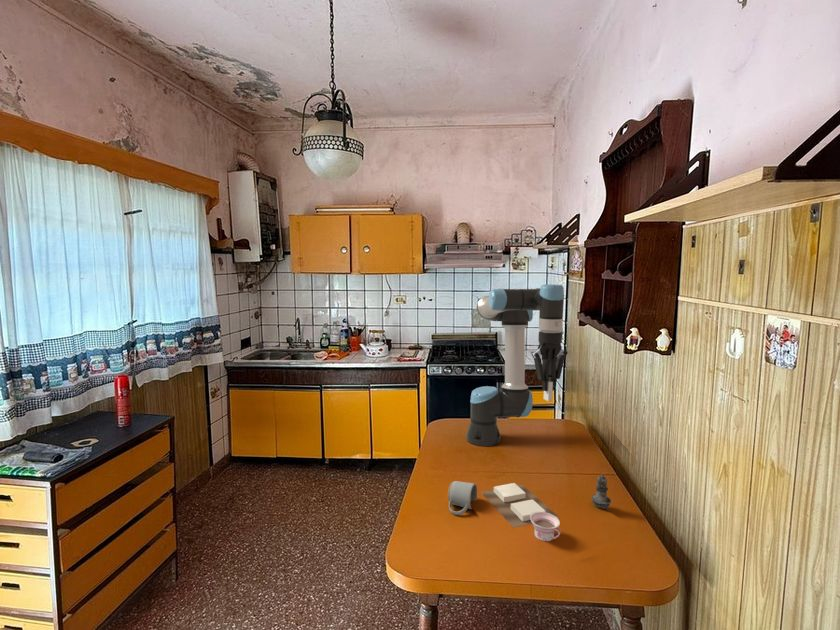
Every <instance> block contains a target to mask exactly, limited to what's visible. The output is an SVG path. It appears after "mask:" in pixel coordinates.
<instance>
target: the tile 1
mask: <svg viewBox="0 0 840 630" xmlns="http://www.w3.org/2000/svg"><path fill="white" fill-rule="evenodd" d="M517 485H518V484H516V483H515V482H512V483H511V482H510V483H505V484H502V485H496V486H493V490H494V493H495V494H496V495H497V496H498V497H499V498H500V499H501V500H502V501H503V502H509V501H514V500H519V499H524V498H526V493H525V492H524V491H523V490H522V489H521V488H519V487H518V486H517Z"/></svg>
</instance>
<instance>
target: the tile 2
mask: <svg viewBox="0 0 840 630" xmlns="http://www.w3.org/2000/svg"><path fill="white" fill-rule="evenodd" d="M511 510H512V511H513V512H514V513H515V514H516V515H517V516H518V517H519V518H520V519H521V520H522V521H528V520H530V515H531V514H532V513H533V512H546V511H545V510H544V509H543V508H542V507H541V506H539V505H538V504H537V503H536V502H535V501H534V500H533V499H532V500H527V501H522V502H517V503H512V504H511Z"/></svg>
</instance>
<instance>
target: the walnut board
mask: <svg viewBox="0 0 840 630" xmlns="http://www.w3.org/2000/svg"><path fill="white" fill-rule="evenodd" d="M516 485H517V486H518V487H519V488H521V489H522V490H523V491H524V492H525V493H526V498H524V499H519V500H514V501H509V502H503V501H502V500H501V499H500V498H499V497H498V496H497V495H496V494H495V493H494V489H490V490H484V491H481V492H480V493H481V494H482V495H483V496H484V498H486V500H488V502H489V503H490V504H491V505H492V506H493V507H494V508H495V509H496V510H497V511H498V513H499V514H500V515H501V516H502V517H503V518H504V519H505V520H506V522H507V523H509V525H510V526H511V527H512V528H513V529H514V528H517V527H523V526H527V525H533V524H532V522H531V520H528V521H522V520H521V519H520V518H519V517H518V516H517V515H516V514H515V513H514V512H513V511H512V510H511V504H512V503H517V502H522V501H527V500H532V499H533V500H534V501H535V502H536V503H537V504H538V505H539V506H541V507H542V508H543V509H544V510H545V511H546V513H549V514H552V515H554V516H555V517H557V518H558V519H559V518H560V516H559V515H557V514H556V513H555V512H554V511H553V510H551V509H550V508H549V507H548V506H547V505H546V504H545V503H544V502H543V501H542V500H541V499H539V498H538V497H537V496H536V495H535V494H534V493H533V492H531V491H530V490H529V489H528V488H526V487H525V485H523V484H516Z"/></svg>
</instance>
